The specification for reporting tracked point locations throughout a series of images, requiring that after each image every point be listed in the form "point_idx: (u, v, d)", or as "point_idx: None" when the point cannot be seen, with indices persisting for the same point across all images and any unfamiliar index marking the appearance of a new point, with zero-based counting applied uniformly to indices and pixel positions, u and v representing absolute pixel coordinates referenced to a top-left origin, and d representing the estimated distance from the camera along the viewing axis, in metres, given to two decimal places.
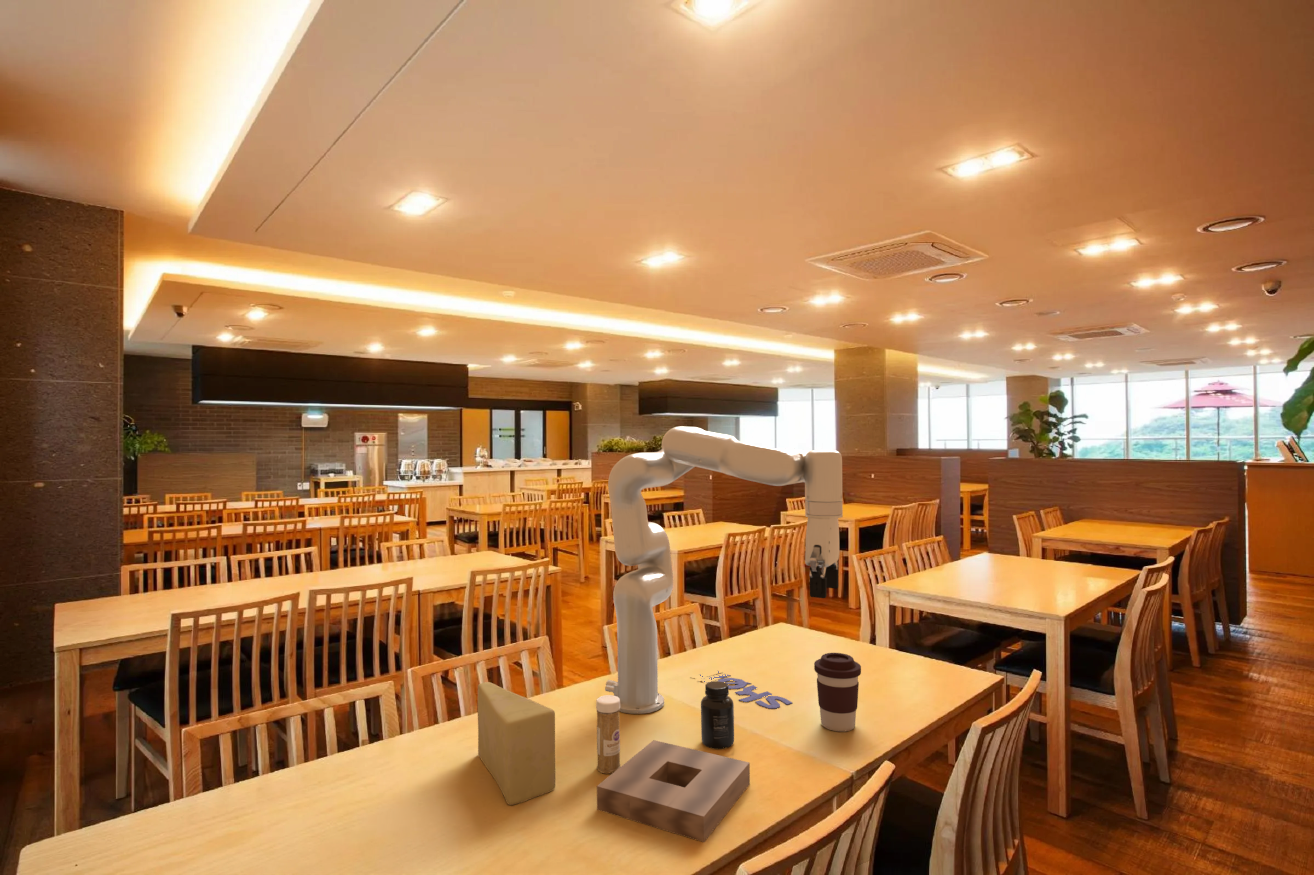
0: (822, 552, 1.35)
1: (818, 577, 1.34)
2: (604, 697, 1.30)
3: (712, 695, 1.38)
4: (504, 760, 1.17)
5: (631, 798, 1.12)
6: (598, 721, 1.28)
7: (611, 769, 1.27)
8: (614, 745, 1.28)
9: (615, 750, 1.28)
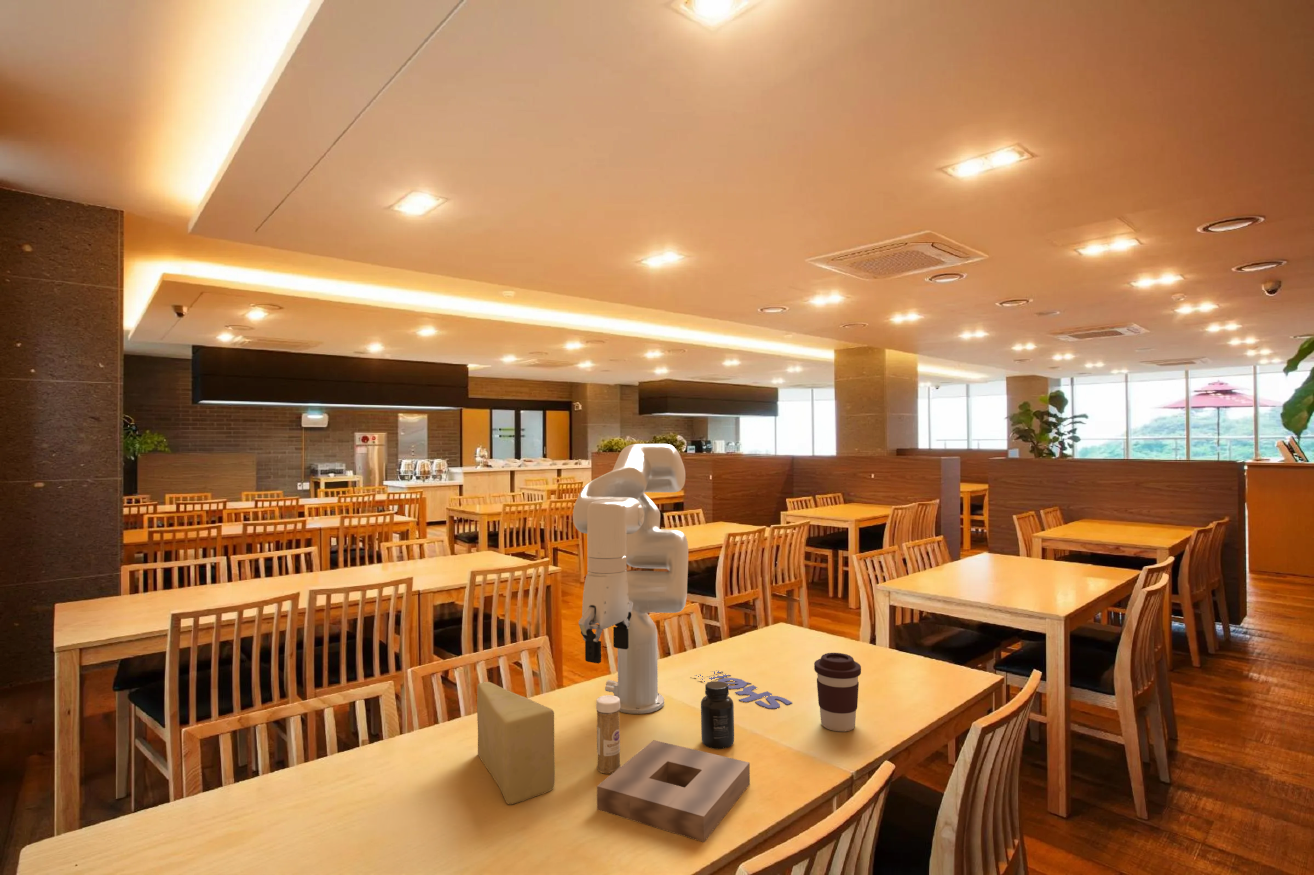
0: (597, 613, 1.25)
1: (591, 641, 1.24)
2: (604, 697, 1.30)
3: (712, 695, 1.38)
4: (503, 759, 1.17)
5: (631, 798, 1.12)
6: (598, 721, 1.28)
7: (611, 769, 1.27)
8: (614, 745, 1.28)
9: (615, 750, 1.28)
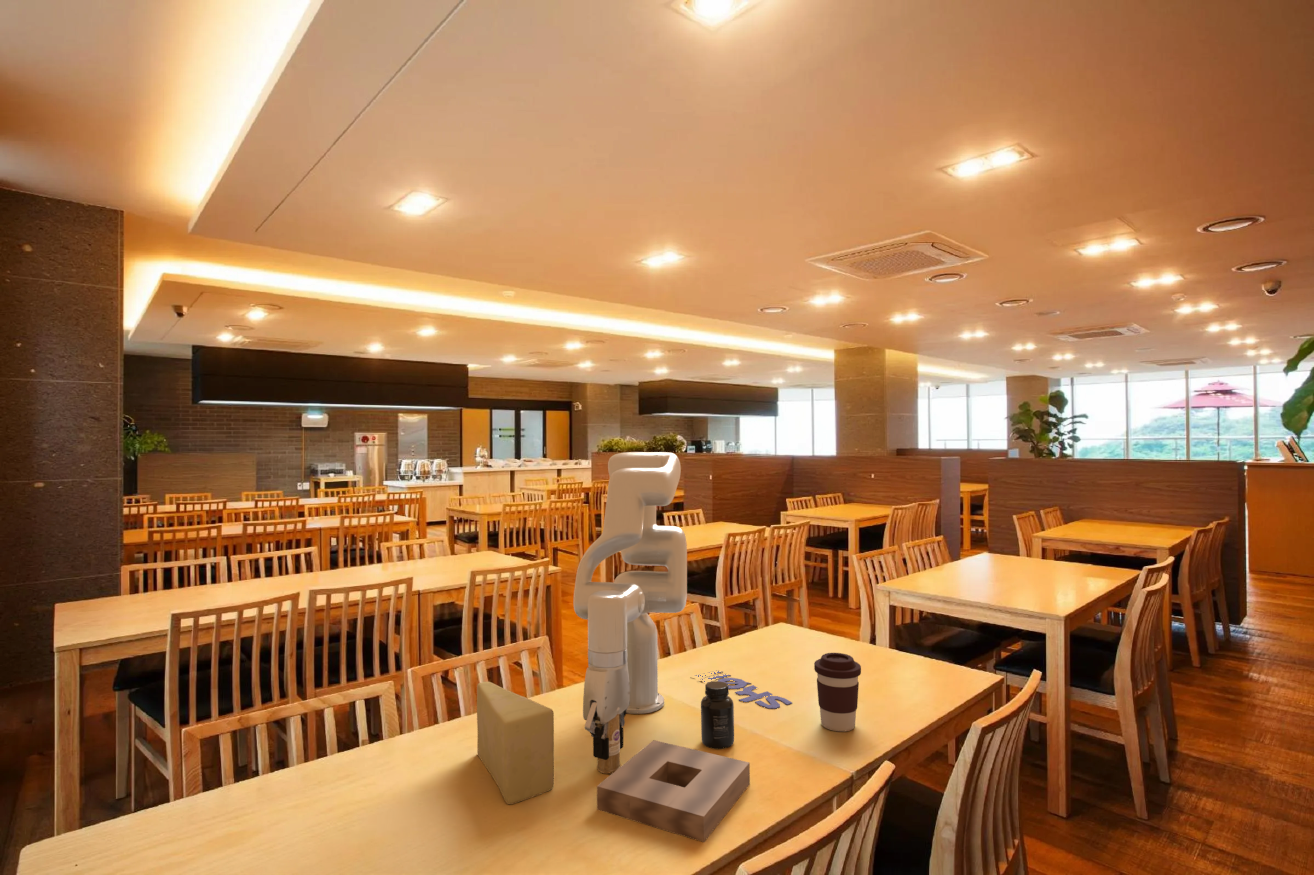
0: (597, 709, 1.25)
1: (599, 738, 1.26)
2: None
3: (712, 695, 1.38)
4: (503, 759, 1.17)
5: (631, 798, 1.12)
6: None
7: (611, 769, 1.27)
8: (614, 745, 1.28)
9: (615, 750, 1.28)
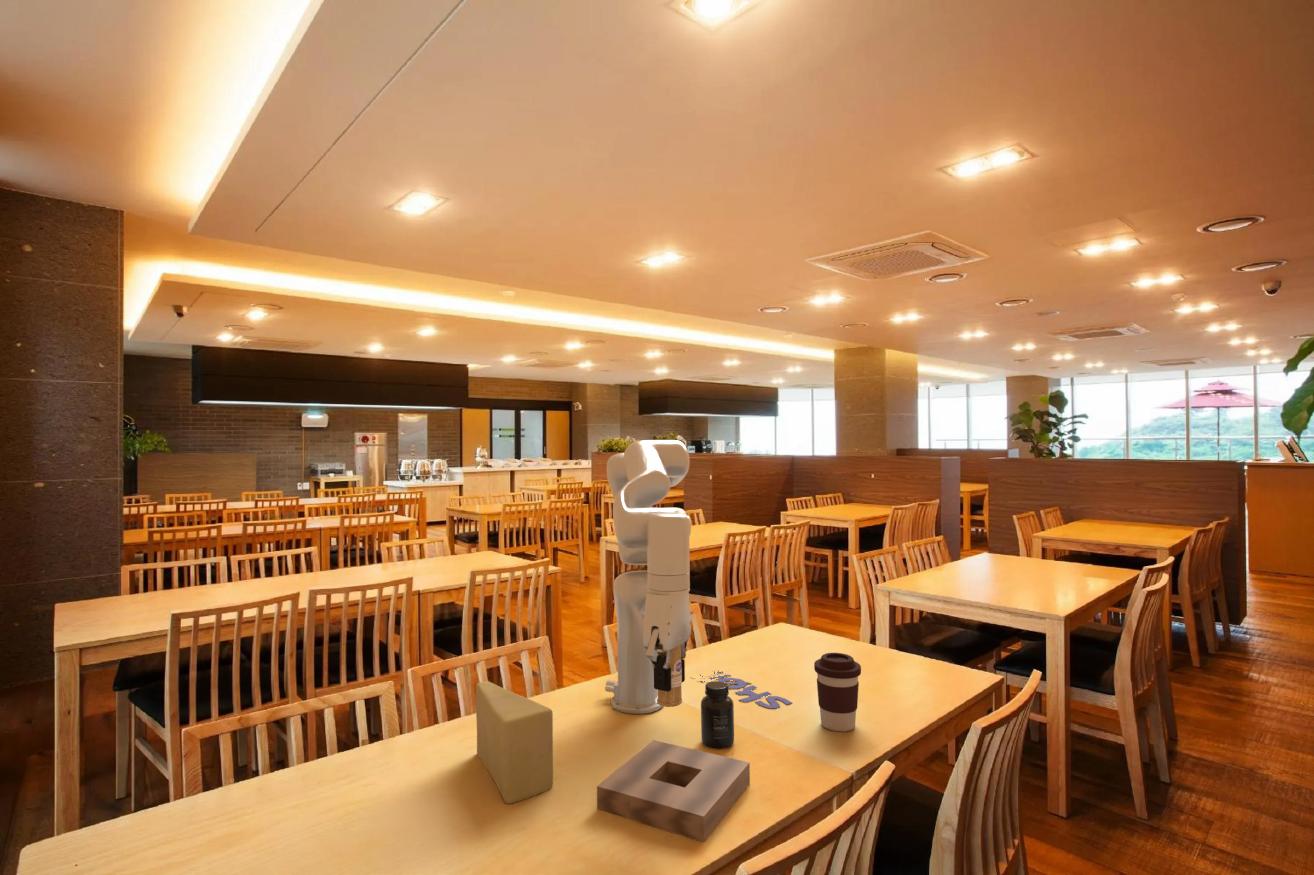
0: (660, 635, 1.15)
1: (661, 667, 1.16)
2: None
3: (712, 695, 1.38)
4: (502, 759, 1.17)
5: (631, 798, 1.12)
6: None
7: (673, 702, 1.18)
8: (676, 676, 1.18)
9: (677, 681, 1.18)
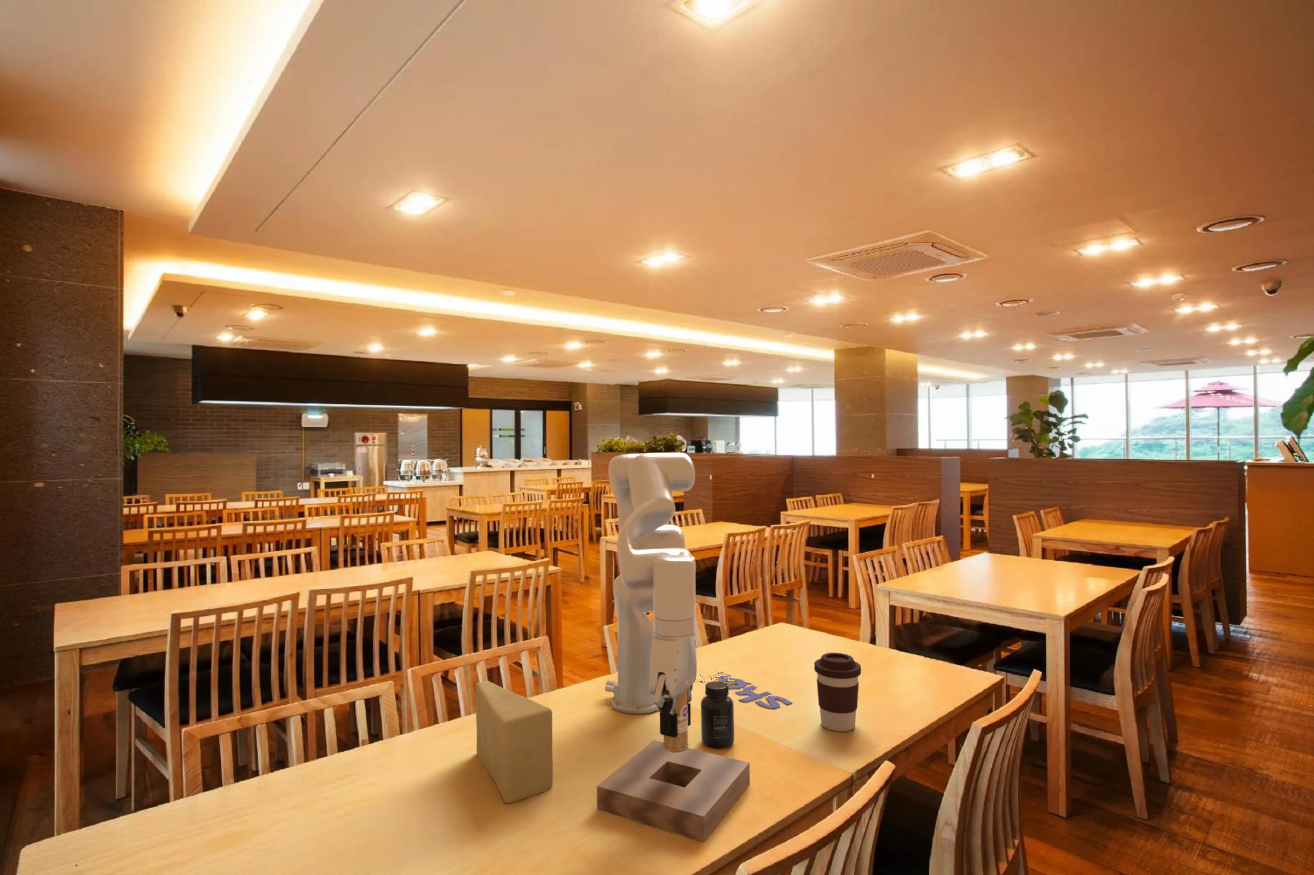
0: (666, 681, 1.14)
1: (667, 713, 1.16)
2: None
3: (712, 695, 1.38)
4: (501, 759, 1.17)
5: (631, 798, 1.12)
6: None
7: (680, 747, 1.17)
8: (683, 722, 1.17)
9: (683, 726, 1.17)
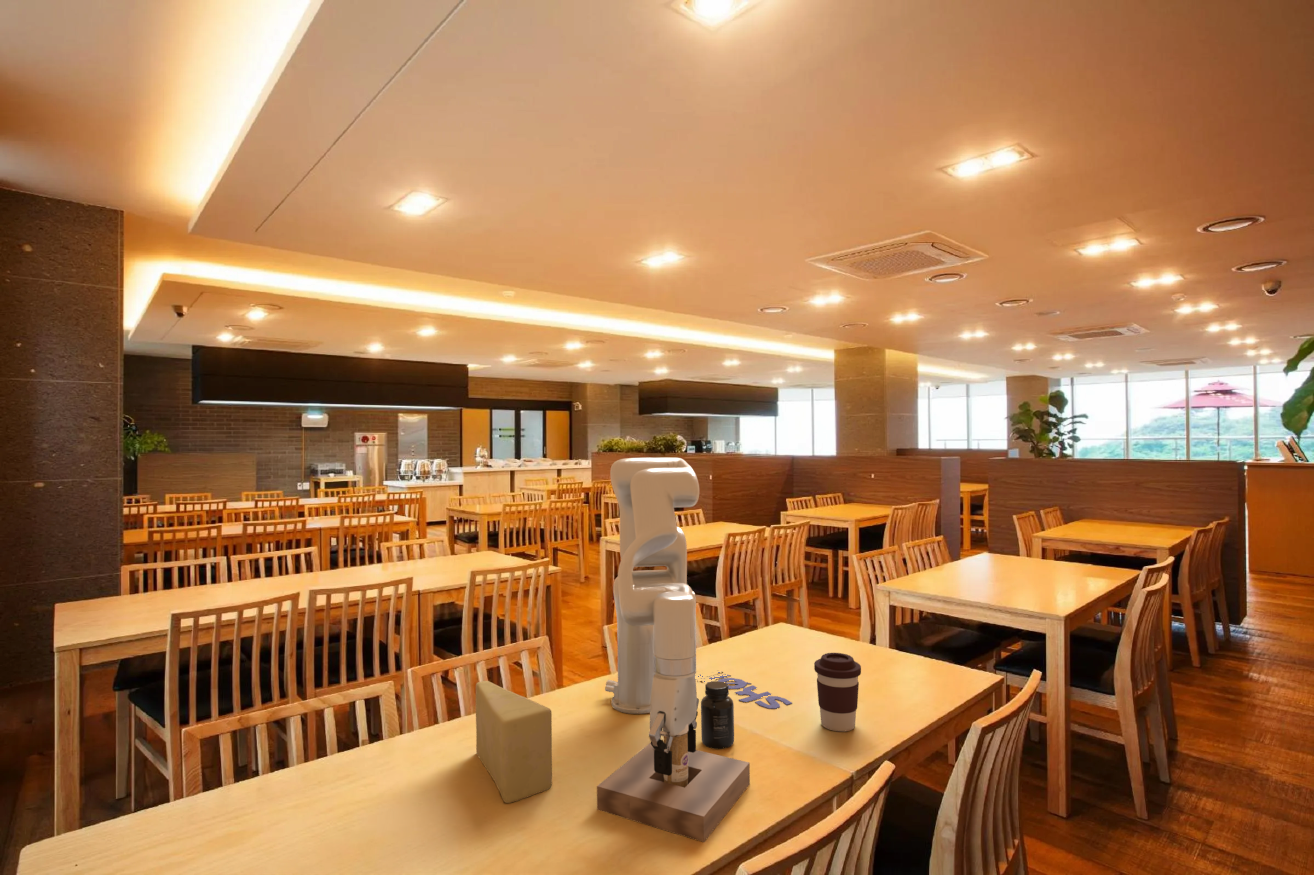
0: (667, 720, 1.14)
1: (661, 751, 1.14)
2: None
3: (712, 695, 1.38)
4: (500, 758, 1.17)
5: (631, 798, 1.12)
6: None
7: None
8: (683, 770, 1.18)
9: (684, 775, 1.18)
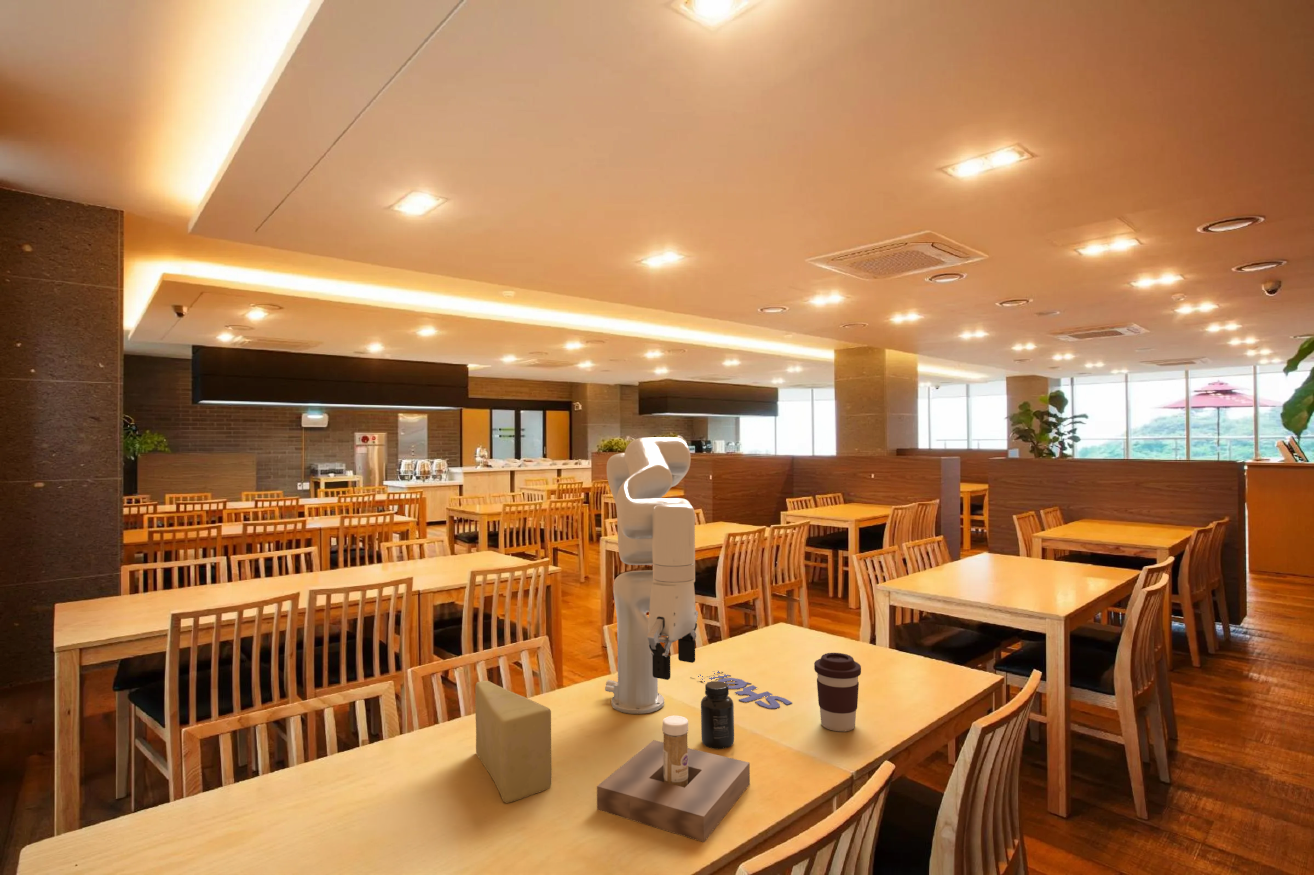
0: (665, 626, 1.15)
1: (660, 655, 1.14)
2: (670, 718, 1.20)
3: (712, 695, 1.38)
4: (500, 758, 1.18)
5: (631, 798, 1.12)
6: (665, 744, 1.18)
7: None
8: (683, 771, 1.18)
9: (684, 775, 1.18)
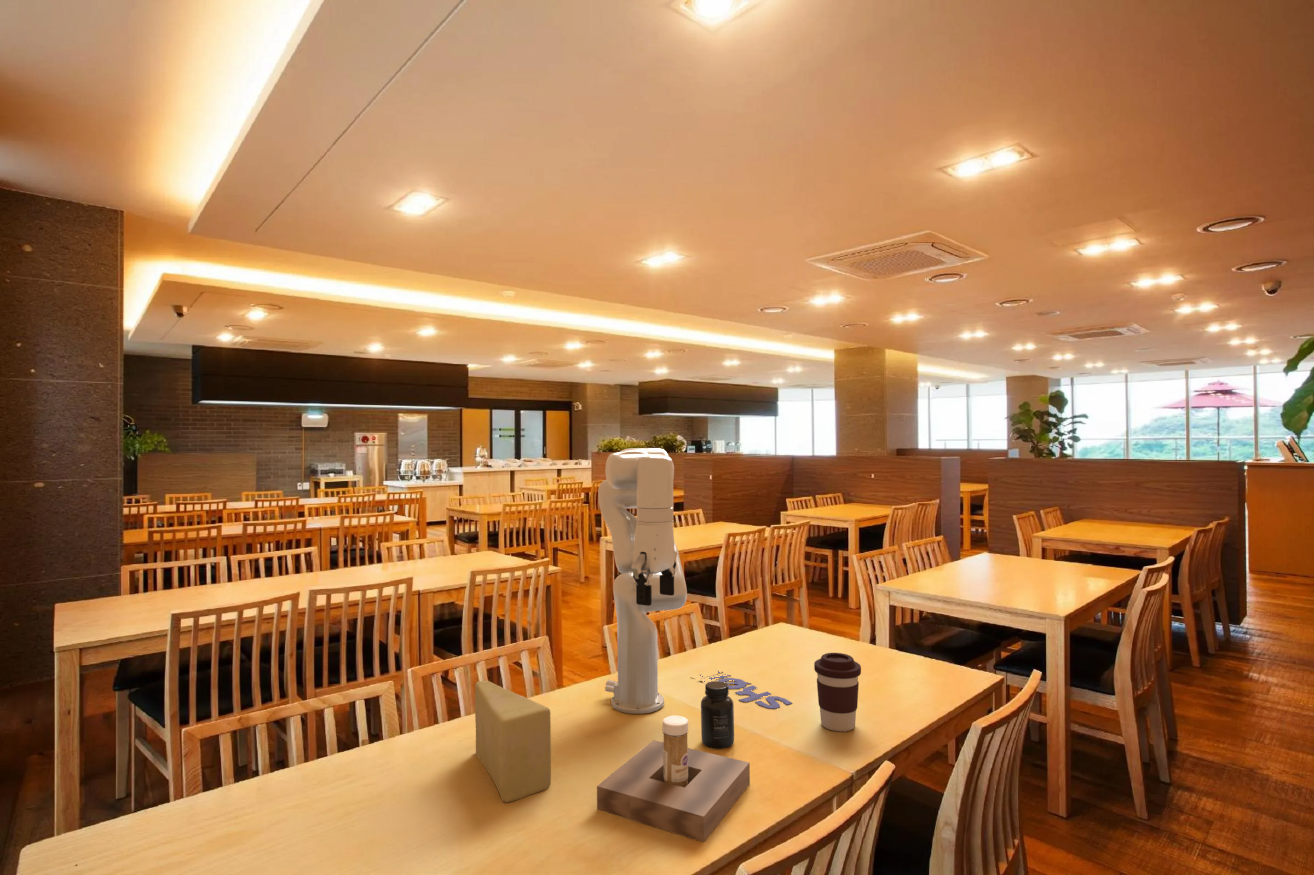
0: (647, 559, 1.33)
1: (642, 584, 1.33)
2: (670, 718, 1.20)
3: (712, 695, 1.38)
4: (499, 758, 1.18)
5: (631, 798, 1.12)
6: (665, 744, 1.18)
7: None
8: (683, 770, 1.18)
9: (684, 775, 1.18)
